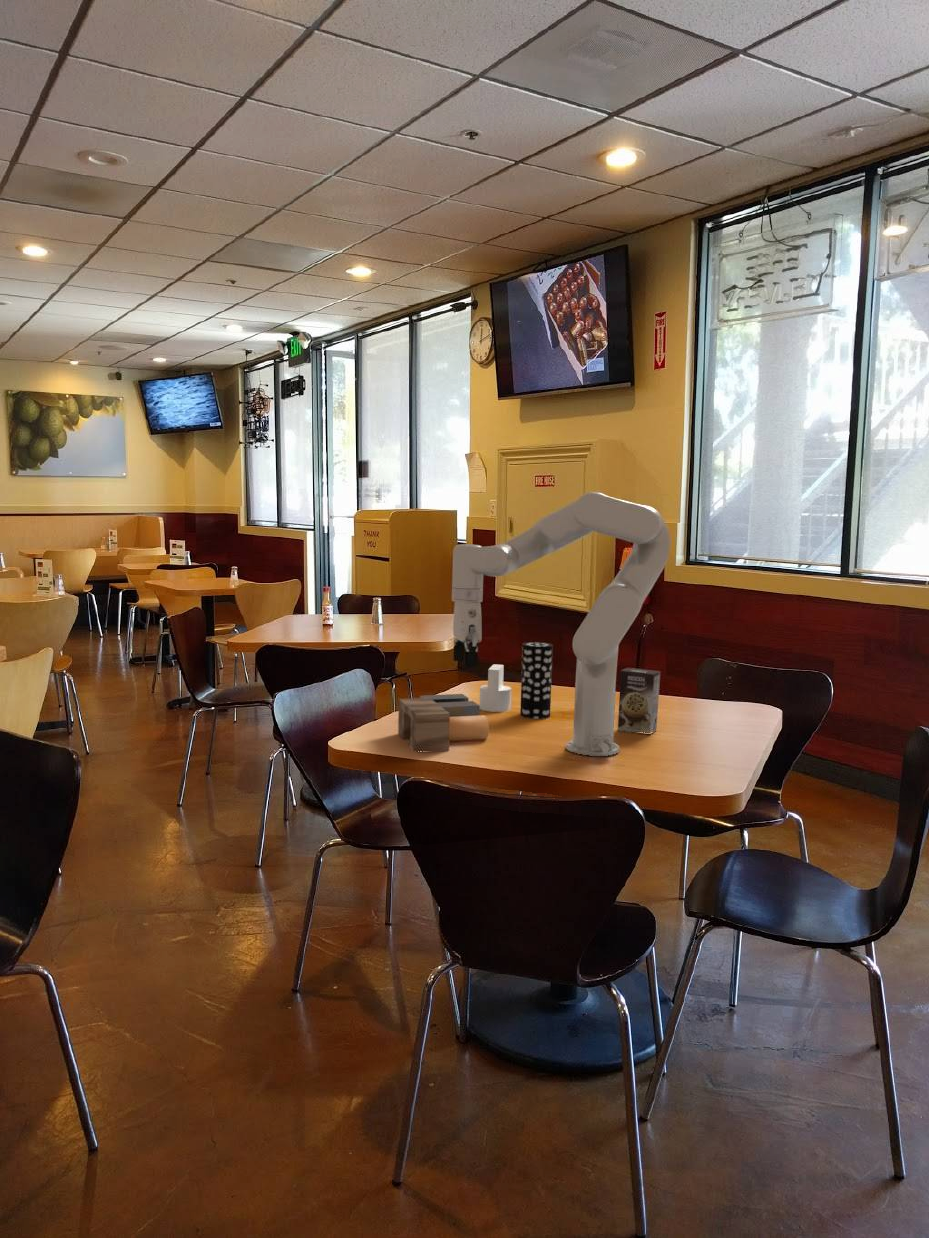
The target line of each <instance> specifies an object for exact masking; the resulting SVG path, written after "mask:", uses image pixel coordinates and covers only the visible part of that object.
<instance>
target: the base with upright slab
mask: <svg viewBox="0 0 929 1238" xmlns="http://www.w3.org/2000/svg"><path fill="white" fill-rule="evenodd" d="M504 667H505V665H504V664H498V663H497V664H492V665H491V666H490V667H489V668H488V670H487V672H488V673H487V675H488V676H487V684H483V685H481V686H480V687H479V704H478V705H480V710H481V711H484V712H485V711H486V712H492V713H494V712H495V713H497V712H500V713H501V712H509V711H510V710H511V709H512V708H511V706H512V703H511V702H512V686H511V687H510V686H509V685H504V670H505V669H504Z"/></svg>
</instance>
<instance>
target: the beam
mask: <svg viewBox="0 0 929 1238" xmlns="http://www.w3.org/2000/svg"><path fill="white" fill-rule="evenodd" d="M397 722H398V727H397V728H398V730H397V731H398V733H397V734H398V736H400V737H401V738H402V740H409V742H410V743H409V745H410V746H411V747H412V748H411V747H410V748H411V749H412V750H413V751H414V752H415V751H416V752H418V751H419V752H418V753H424V752H423V751H435V752H447V751H450V741H449V723H450V713H449V712H447V711H446V710H445V709H443V708H442V707H441V706H440V705H438V704H437V703H436V702H435V701H433V700H432V699H431V698H420V697H411V698H398V721H397ZM420 751H422V752H420ZM416 752H415V753H416Z"/></svg>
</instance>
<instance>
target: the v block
mask: <svg viewBox="0 0 929 1238" xmlns="http://www.w3.org/2000/svg"><path fill="white" fill-rule="evenodd" d="M419 698H431V699H432V700H433V701H435V702H436V703H437V704H438V705H440V706H441V707H442V708H443V709H445V710H446V711H447V712H449V713H450V717H459V716H479V715H480V710H481V709H480V705H479V704H478V703H476V702H475V701H474V700H471V701H469V697H468V696H466V695H465V694H463V693H452V694H451V693H449V694H426V695H423V694H422V695H420V696H419Z"/></svg>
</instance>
